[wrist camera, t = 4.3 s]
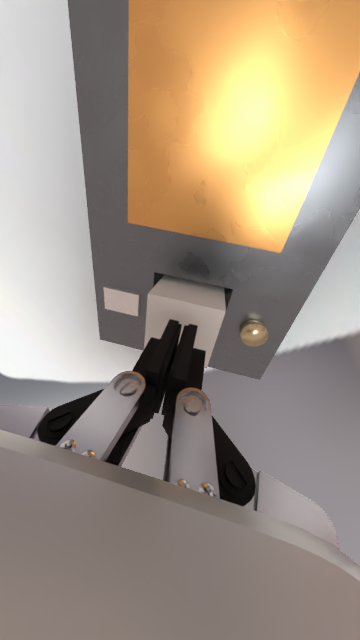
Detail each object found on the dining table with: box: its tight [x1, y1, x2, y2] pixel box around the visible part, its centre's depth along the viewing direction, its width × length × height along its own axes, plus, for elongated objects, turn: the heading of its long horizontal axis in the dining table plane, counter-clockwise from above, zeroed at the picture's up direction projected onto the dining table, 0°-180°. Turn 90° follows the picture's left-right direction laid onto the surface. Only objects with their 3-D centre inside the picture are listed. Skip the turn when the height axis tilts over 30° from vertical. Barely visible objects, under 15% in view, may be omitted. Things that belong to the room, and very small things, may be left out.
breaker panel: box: [68, 0, 360, 379], centre depth 13 cm, size 16×22×4 cm
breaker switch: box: [144, 274, 226, 368], centre depth 15 cm, size 5×5×5 cm
